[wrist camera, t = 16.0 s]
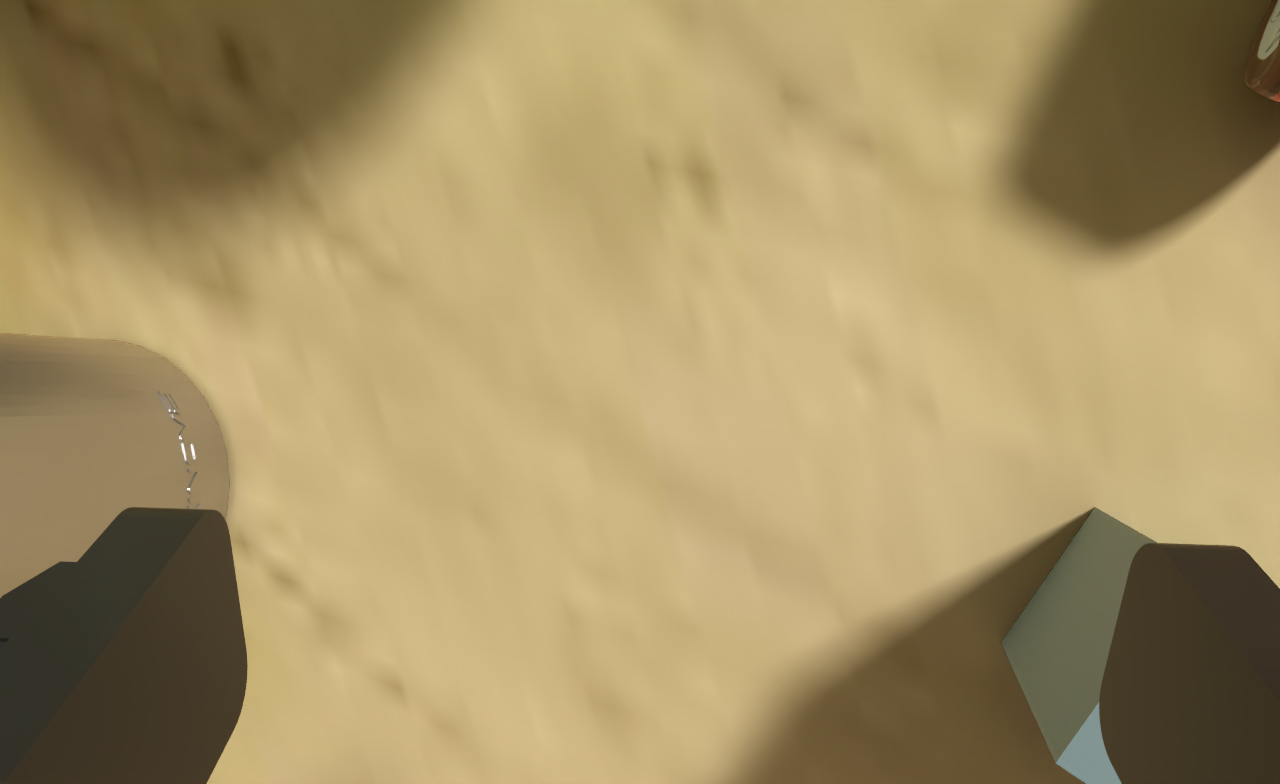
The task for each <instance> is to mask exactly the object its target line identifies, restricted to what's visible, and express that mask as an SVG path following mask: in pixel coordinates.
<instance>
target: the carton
mask: <svg viewBox="0 0 1280 784" xmlns="http://www.w3.org/2000/svg"><path fill="white" fill-rule="evenodd" d="M1148 543H1157V542H1155V541H1153V540H1152V539H1150V538H1148V537H1146V536H1145V535H1143V534H1141V533H1139V532H1138V531H1136V530H1134V529H1132V528H1131V527H1129V526H1127V525H1125V524H1123V523H1122V522H1120V521H1118V520H1116V519H1115V518H1113V517H1111V516H1109V515H1108V514H1106V513H1104V512H1102V511H1101V510H1099V509H1097V508H1094V509H1093V511H1092V512H1091V514H1090V515H1089V516H1088V518H1087V519H1086V521H1085V522H1084V524H1083V525H1082V527H1081V528H1080V529H1079V531H1078V532H1077V534H1076V535H1075V537H1074V538H1073V540H1072V541H1071V542H1070V544H1069V545H1068V547H1067V548H1066V550H1065V551H1064V553H1063V554H1062V555H1061V557H1060V558H1059V560H1058V561H1057V563H1056V564H1055V566H1054V567H1053V568H1052V570H1051V571H1050V573H1049V574H1048V576H1047V577H1046V579H1045V580H1044V581H1043V583H1042V584H1041V586H1040V587H1039V589H1038V590H1037V592H1036V593H1035V594H1034V596H1033V597H1032V599H1031V600H1030V602H1029V603H1028V605H1027V606H1026V607H1025V609H1024V610H1023V612H1022V613H1021V615H1020V616H1019V618H1018V619H1017V620H1016V622H1015V623H1014V625H1013V626H1012V628H1011V629H1010V631H1009V632H1008V633H1007V635H1006V636H1005V638H1004V639H1003V641H1002V642H1001V645H1002V647H1003V649H1004V651H1005V653H1006V656H1007V658H1008V660H1009V662H1010V664H1011V667H1012V669H1013V671H1014V673H1015V675H1016V678H1017V680H1018V682H1019V684H1020V686H1021V689H1022V691H1023V693H1024V695H1025V697H1026V700H1027V702H1028V704H1029V706H1030V708H1031V711H1032V713H1033V715H1034V717H1035V719H1036V722H1037V724H1038V726H1039V728H1040V730H1041V733H1042V735H1043V737H1044V739H1045V741H1046V744H1047V746H1048V748H1049V750H1050V752H1051V755H1052V757H1053V759H1054V761H1055V763H1056V764H1057V765H1059V766H1060V767H1062V768H1063V769H1065V770H1066V771H1068V772H1069V773H1071V774H1072V775H1074V776H1075V777H1077V778H1078V779H1080V780H1081V781H1083V782H1084V783H1085V784H1122V783H1121V781H1120V780H1119V778H1118V776H1117V774H1116V772H1115V770H1114V768H1113V766H1112V764H1111V762H1110V760H1109V757H1108V755H1107V752H1106V749H1105V746H1104V742H1103V738H1102V733H1101V727H1100V717H1099V698H1100V689H1101V684H1102V679H1103V675H1104V671H1105V667H1106V663H1107V659H1108V655H1109V650H1110V646H1111V642H1112V638H1113V634H1114V630H1115V626H1116V622H1117V618H1118V614H1119V610H1120V605H1121V601H1122V597H1123V593H1124V589H1125V585H1126V581H1127V577H1128V573H1129V569H1130V566H1131V562H1132V560H1133V558H1134V556H1135V554H1136V553H1137V551H1138V550H1139V549H1140V548H1141V547H1142V546H1143V545H1145V544H1148Z"/></svg>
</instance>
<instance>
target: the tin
mask: <svg viewBox="0 0 1280 784" xmlns="http://www.w3.org/2000/svg"><path fill="white" fill-rule="evenodd" d="M1244 80H1245V83H1246V85H1247V87H1249V88H1250V89H1251V90H1253V91H1254V92H1256V93H1258V94H1260V95H1262V96H1264V97H1267V98H1269V99H1271V100H1274V101H1277V102H1280V0H1273V1H1272V3H1271V5H1270V8H1269V10H1268V12H1267V14H1266V16H1265V18H1264V21H1263V23H1262V25H1261V27H1260V29H1259V32H1258V34H1257V36H1256V39H1255V41H1254V43H1253V45H1252V48H1251V51H1250V54H1249V56H1248V59H1247V63H1246V67H1245V72H1244Z"/></svg>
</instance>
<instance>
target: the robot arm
mask: <svg viewBox="0 0 1280 784" xmlns="http://www.w3.org/2000/svg"><path fill="white" fill-rule="evenodd" d="M229 487H230V479H229V469H228V459H227V451H226V448H225V444H224V441H223V438H222V434H221V431H220V428H219V424H218V422H217V420H216V418H215V416H214V414H213V412H212V411H211V409H210V407H209V405H208V403H207V401H206V399H205V397H204V396H203V395H202V394H201V392H200V391H199V390H198V389H197V387H196V386H195V385H194V384H193V383H192V381H191V380H190V379H189V378H188V376H187V375H186V374H184V373H183V372H182V371H181V370H179V369H178V368H177V367H176V366H174V365H173V364H172V363H171V362H169V361H168V360H167V359H166V358H164V357H162V356H160V355H158V354H156V353H154V352H152V351H150V350H148V349H146V348H144V347H142V346H138V345H134V344H129V343H125V342H120V341H115V340H101V339H84V338H67V337H51V336H34V335H26V334H10V333H0V784H206V783H207V781H208V779H209V777H210V775H211V773H212V771H213V770H214V768H215V766H216V764H217V762H218V760H219V758H220V756H221V754H222V752H223V750H224V748H225V746H226V744H227V742H228V740H229V738H230V736H231V734H232V733H233V731H234V728H235V726H236V724H237V722H238V719H239V716H240V713H241V709H242V706H243V701H244V696H245V690H246V682H247V652H246V645H245V638H244V631H243V624H242V617H241V610H240V603H239V596H238V589H237V582H236V575H235V568H234V561H233V554H232V547H231V541H230V535H229V530H228V526H227V523H226V521H225V519H226V515H227V509H228V498H229ZM1099 717H1100V727H1101V733H1102V738H1103V742H1104V746H1105V749H1106V752H1107V755H1108V757H1109V760H1110V762H1111V764H1112V766H1113V768H1114V770H1115V772H1116V774H1117V776H1118V778H1119V780H1120V781H1121V783H1122V784H1280V589H1279V588H1278V587H1277V585H1276V584H1275V583H1274V582H1273V581H1272V580H1271V579H1270V577H1269V576H1268V575H1267V574H1266V573H1265V572H1264V571H1263V570H1262V568H1261V567H1260V566H1259V565H1258V564H1257V563H1256V562H1255V561H1254V559H1253V558H1252V557H1251V556H1250V555H1249V554H1248V553H1247V552H1246V551H1245V550H1243V549H1241V548H1240V547H1236V546H1225V545H1195V544H1165V543H1148V544H1145V545H1143V546H1142V547H1141V548H1140V549H1139V550H1138V551H1137V553H1136V554H1135V556H1134V558H1133V560H1132V562H1131V566H1130V569H1129V573H1128V577H1127V581H1126V585H1125V589H1124V593H1123V597H1122V601H1121V605H1120V610H1119V614H1118V618H1117V622H1116V626H1115V630H1114V634H1113V638H1112V642H1111V646H1110V650H1109V655H1108V659H1107V663H1106V667H1105V671H1104V675H1103V679H1102V684H1101V689H1100V698H1099Z"/></svg>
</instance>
